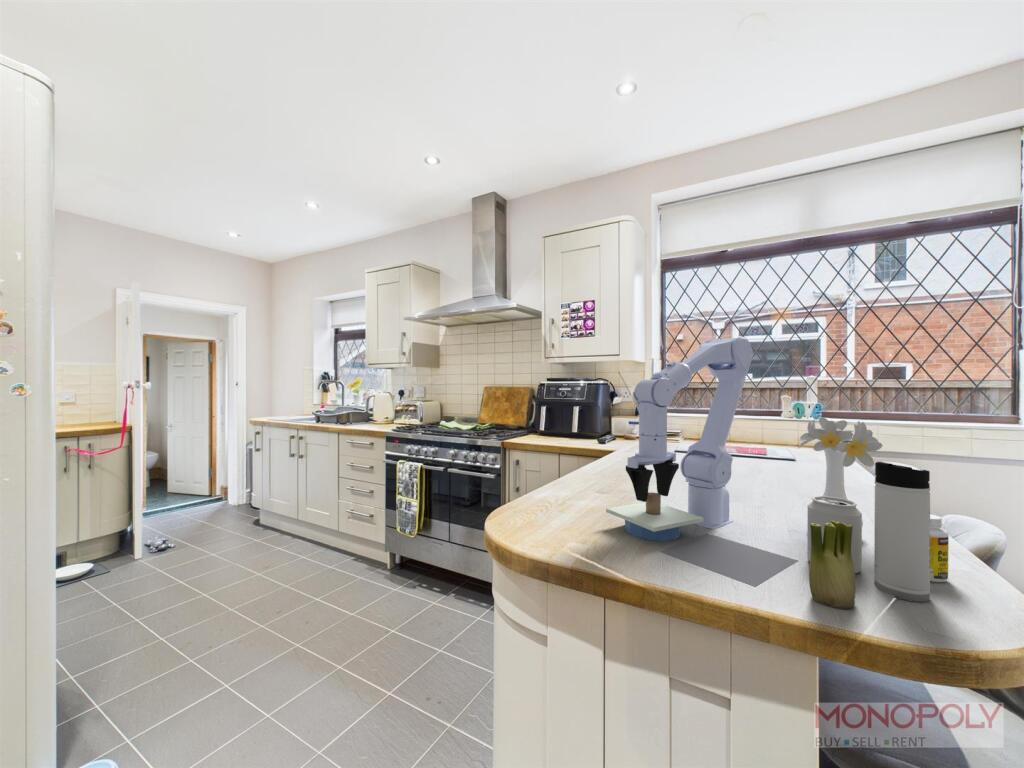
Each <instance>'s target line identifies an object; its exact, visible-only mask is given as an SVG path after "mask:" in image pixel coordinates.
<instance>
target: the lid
mask: <svg viewBox="0 0 1024 768" xmlns="http://www.w3.org/2000/svg"><path fill="white" fill-rule="evenodd" d="M661 498H662V495H660V494H658V492H648V498H647V501H646V502H643V501H642V502H638V503H632V504H631V503H630V504H626V505H619V506H613V507H606V508H605V513H607V514H610V515H612V516H615V517H617V518H621V519H623V520H624V521H625V520H627V521H629V522H632V523H634V524H637V525H639V526H641V527H644V528H646V529H649V530H651V531H654V532H655V531H660V530H665V529H670V528H675V527H680V528H681V527H684V526H688V525H695V524H694V523H699V522H703V517H700V516H697V515H693V514H690V513H688V511H684V510H680V509H678V508H675V507H671V506H668V505H666V504H663V503H661V502H662V501H661V500H662V499H661Z"/></svg>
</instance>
